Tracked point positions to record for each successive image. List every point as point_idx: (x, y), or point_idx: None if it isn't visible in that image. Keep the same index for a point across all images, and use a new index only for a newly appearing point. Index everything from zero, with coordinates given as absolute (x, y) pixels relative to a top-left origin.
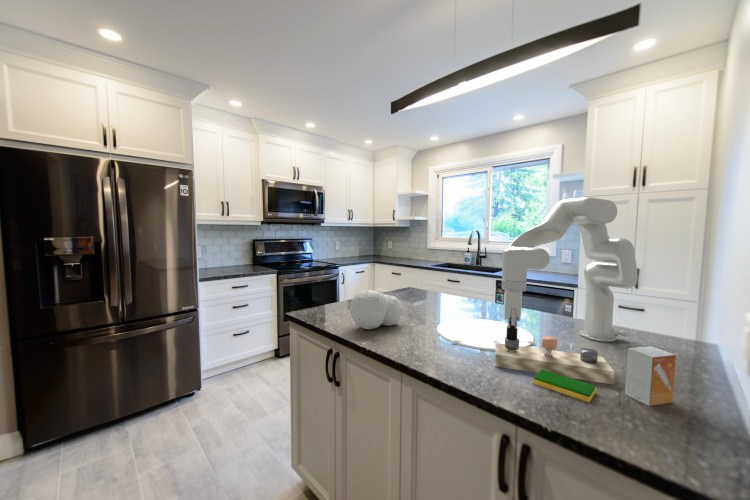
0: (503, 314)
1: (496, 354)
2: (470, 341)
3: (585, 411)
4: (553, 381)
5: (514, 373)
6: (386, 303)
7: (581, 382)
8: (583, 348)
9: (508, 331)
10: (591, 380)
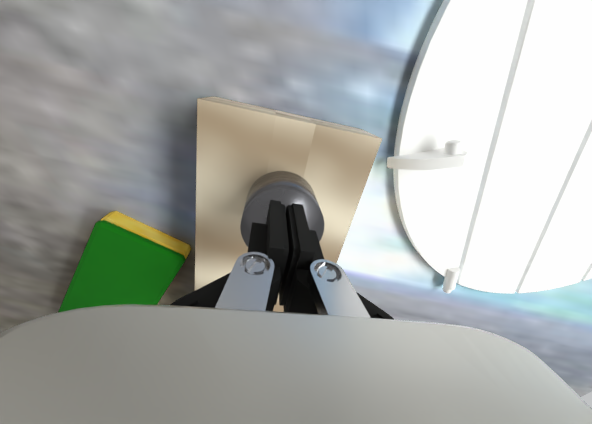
0: (352, 343)
1: (198, 103)
2: (523, 1)
3: (3, 288)
4: (92, 269)
5: (169, 165)
6: None
7: None
8: None
9: (266, 236)
10: None
